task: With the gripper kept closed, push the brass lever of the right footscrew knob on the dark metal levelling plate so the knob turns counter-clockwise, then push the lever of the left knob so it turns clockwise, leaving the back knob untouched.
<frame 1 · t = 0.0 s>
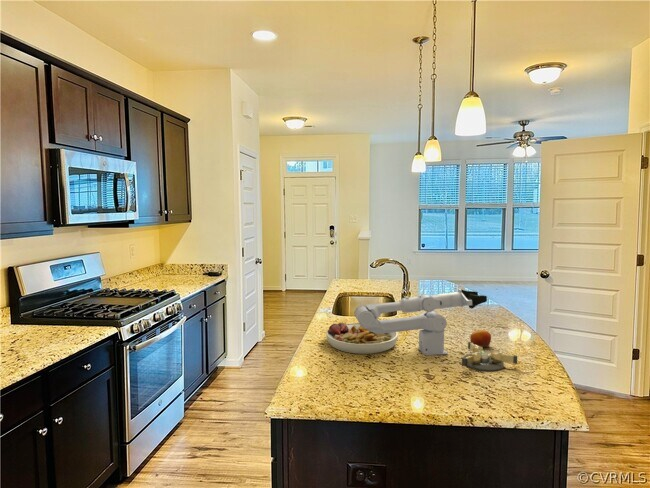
hand: (481, 296, 164), 22 cm above the worktop, tool horizontal, fingers open, 7 cm apart
knob right: (503, 357, 148), point 3 cm above the worktop, hinge at 0.0°
level plate: (482, 363, 151), on the worktop
knob left: (471, 359, 147), point 3 cm above the worktop, hinge at 0.0°
knob back: (474, 348, 158), point 3 cm above the worktop, hinge at 0.0°
fruit: (480, 346, 170), on the worktop
bowl: (361, 344, 175), on the worktop
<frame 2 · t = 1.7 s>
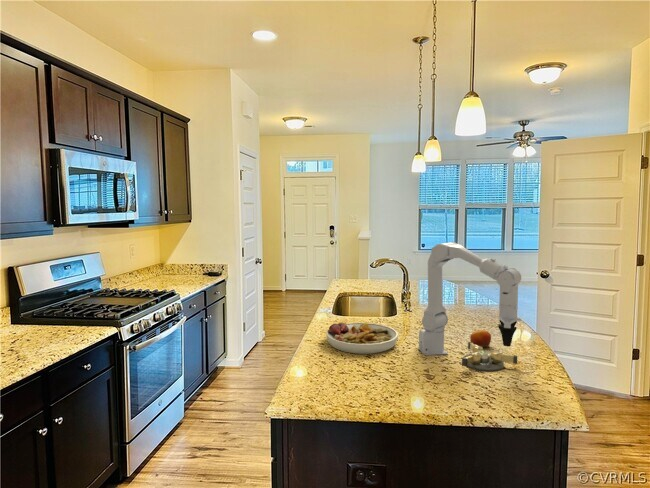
hand: (507, 343, 142), 10 cm above the worktop, tool pointing down, fingers open, 6 cm apart
nothing on the worktop moved.
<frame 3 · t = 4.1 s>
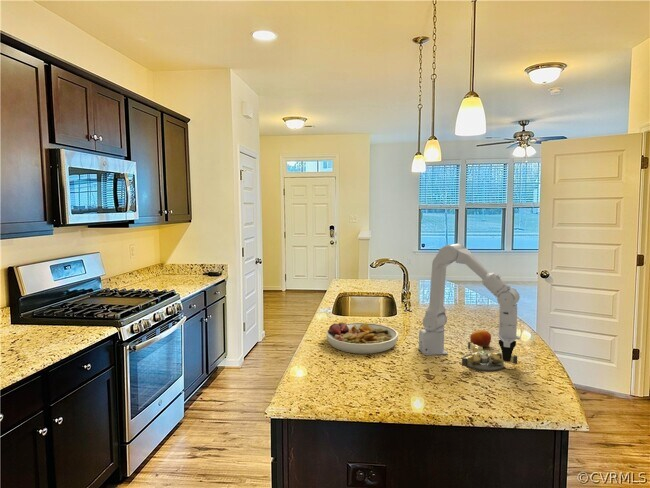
hand: (506, 360, 147), 3 cm above the worktop, tool pointing down, fingers closed, pressing on knob right
knob right: (503, 357, 148), point 3 cm above the worktop, hinge at 0.0°, touching gripper
everything else where it was.
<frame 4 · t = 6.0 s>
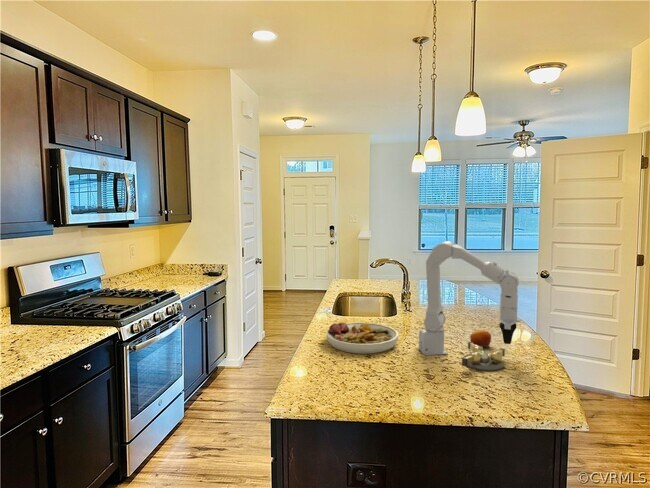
hand: (507, 343, 151), 7 cm above the worktop, tool pointing down, fingers closed
knob right: (498, 355, 151), point 3 cm above the worktop, hinge at 73.6°
everything else where it was.
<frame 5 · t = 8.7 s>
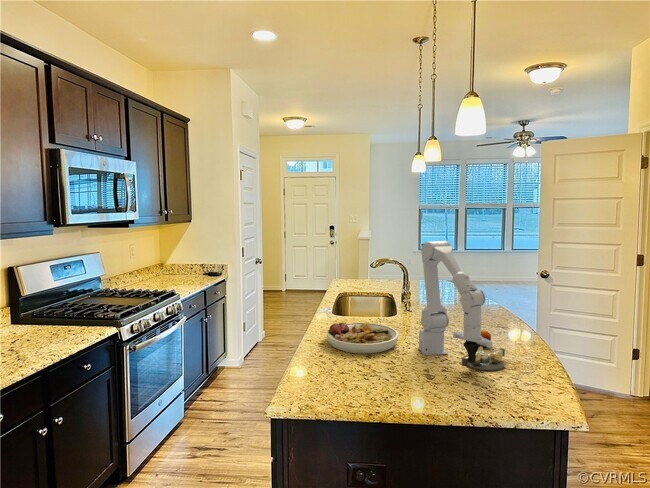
hand: (471, 362, 146), 3 cm above the worktop, tool pointing down, fingers closed, pressing on knob left
knob left: (471, 359, 147), point 3 cm above the worktop, hinge at -0.5°, touching gripper
everything else where it was.
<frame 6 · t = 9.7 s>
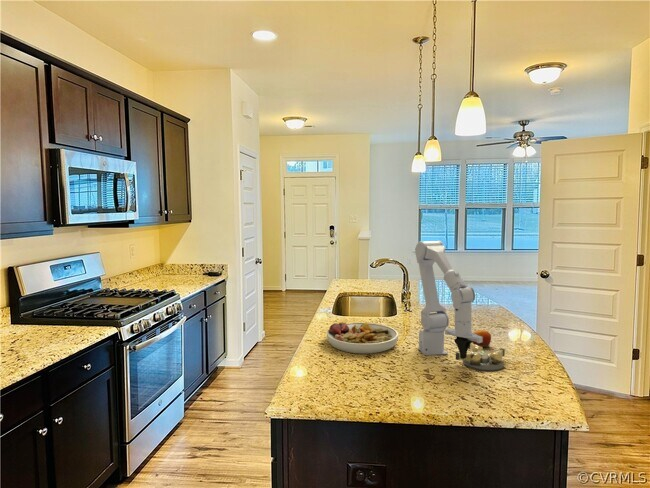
hand: (463, 358, 148), 3 cm above the worktop, tool pointing down, fingers closed, pressing on knob left
knob left: (468, 356, 149), point 3 cm above the worktop, hinge at -56.3°, touching gripper
everything else where it was.
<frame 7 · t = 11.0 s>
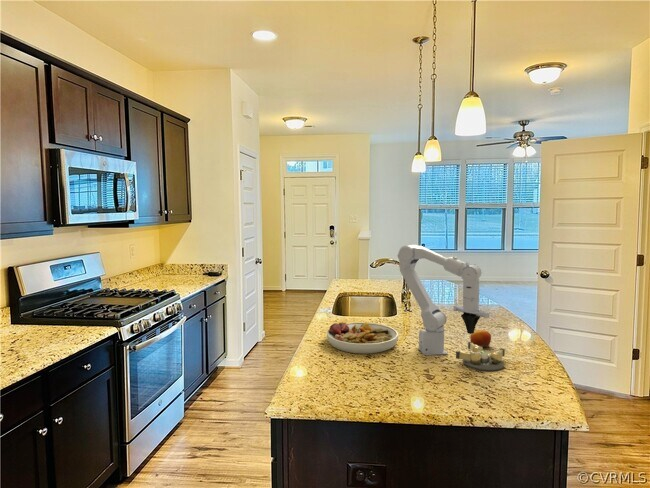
hand: (470, 333, 155), 10 cm above the worktop, tool pointing down, fingers closed
knob left: (468, 356, 150), point 3 cm above the worktop, hinge at -69.4°
everything else where it was.
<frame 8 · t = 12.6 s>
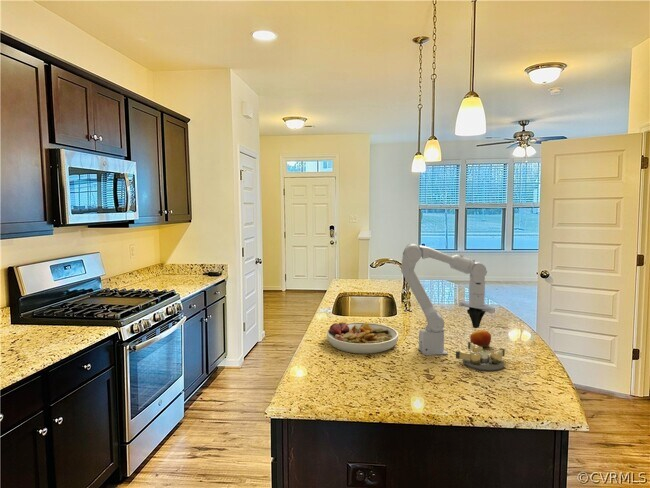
hand: (476, 327, 161), 10 cm above the worktop, tool pointing down, fingers closed
nothing on the worktop moved.
at the end: knob right at +74° (first picture: +0°); knob left at -70° (first picture: +0°); knob back at +0° (first picture: +0°) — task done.
